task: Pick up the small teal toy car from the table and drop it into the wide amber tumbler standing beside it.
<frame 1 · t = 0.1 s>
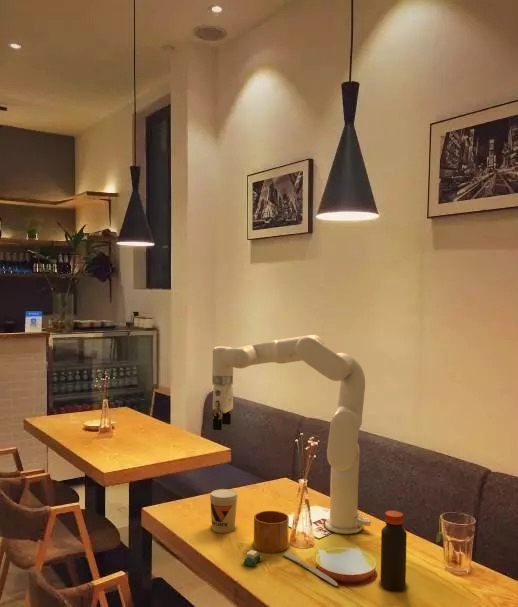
hand: (221, 427, 218), 31 cm above the table, tool pointing down, fingers open, 9 cm apart
butter knife: (310, 569, 174), on the table
tumbler: (270, 545, 190), on the table
bottle: (392, 586, 165), on the table
coffee cup: (223, 528, 203), on the table
toy car: (252, 563, 177), on the table
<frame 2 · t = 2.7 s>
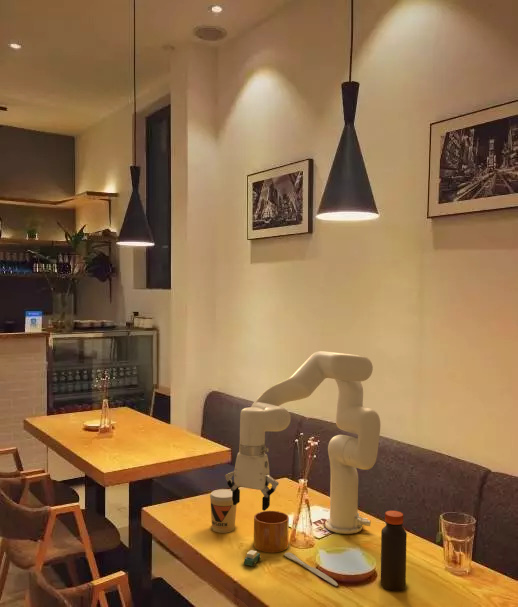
hand: (250, 506, 179), 16 cm above the table, tool pointing down, fingers open, 9 cm apart
nothing on the table moved.
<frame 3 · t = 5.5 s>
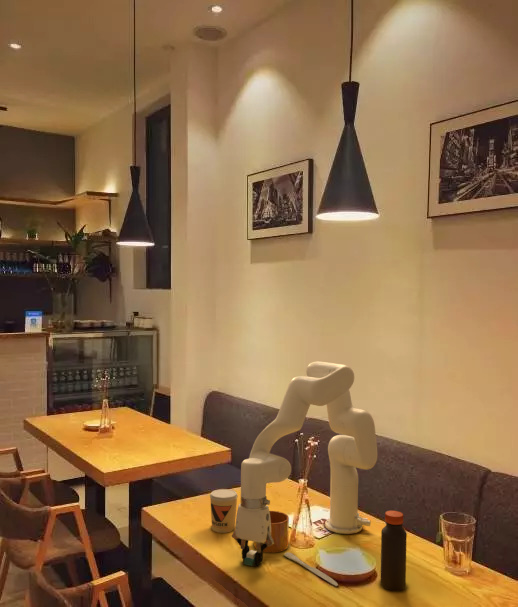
hand: (252, 562, 177), 0 cm above the table, tool pointing down, fingers closed on toy car, 3 cm apart
toy car: (252, 563, 177), on the table, touching gripper
everything else where it was.
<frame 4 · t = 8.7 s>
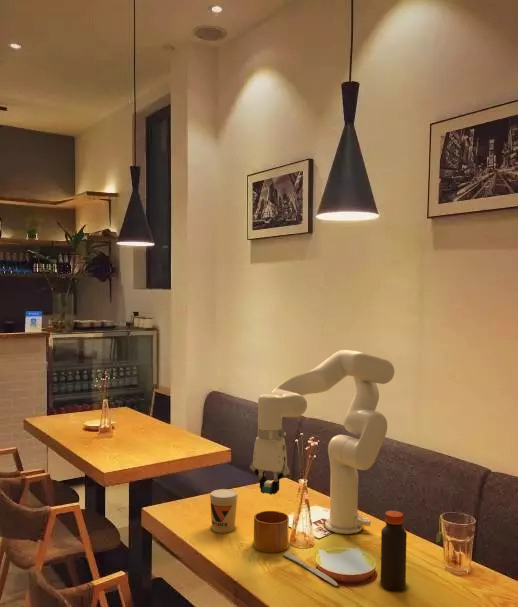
hand: (269, 491, 188), 18 cm above the table, tool pointing down, fingers closed on toy car, 3 cm apart
toy car: (269, 492, 188), point 18 cm above the table, touching gripper
everything else where it was.
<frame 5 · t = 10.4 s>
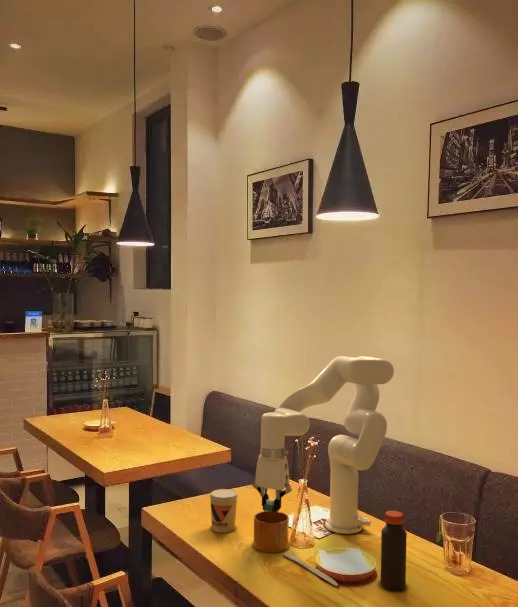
hand: (271, 509, 190), 12 cm above the table, tool pointing down, fingers closed on toy car, 3 cm apart
toy car: (271, 509, 190), point 11 cm above the table, touching gripper
everything else where it was.
when the fingers open (8 cm above the table, at t = 11.8 s): toy car drops 7 cm, resting on tumbler.
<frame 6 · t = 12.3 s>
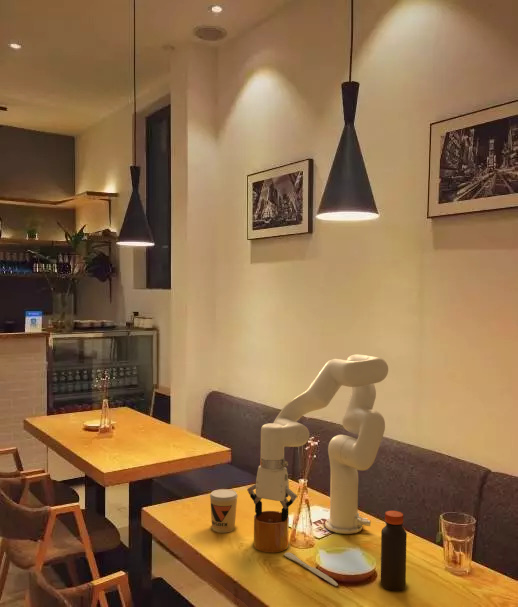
hand: (271, 517, 190), 9 cm above the table, tool pointing down, fingers open, 8 cm apart
toy car: (271, 543, 190), point 1 cm above the table, touching tumbler
everything else where it was.
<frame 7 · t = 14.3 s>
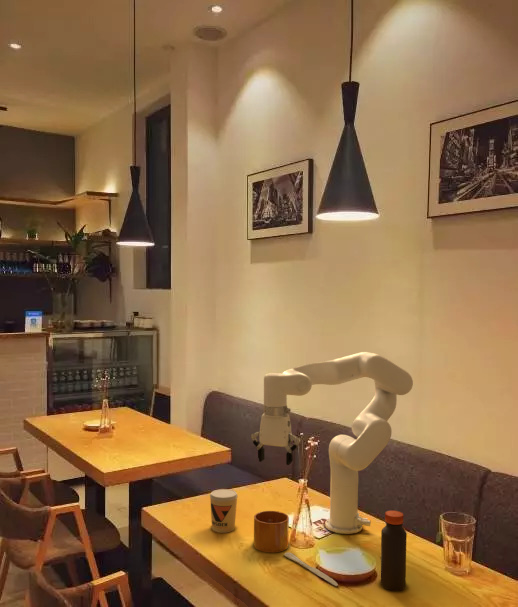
hand: (275, 462, 197), 24 cm above the table, tool pointing down, fingers open, 9 cm apart
nothing on the table moved.
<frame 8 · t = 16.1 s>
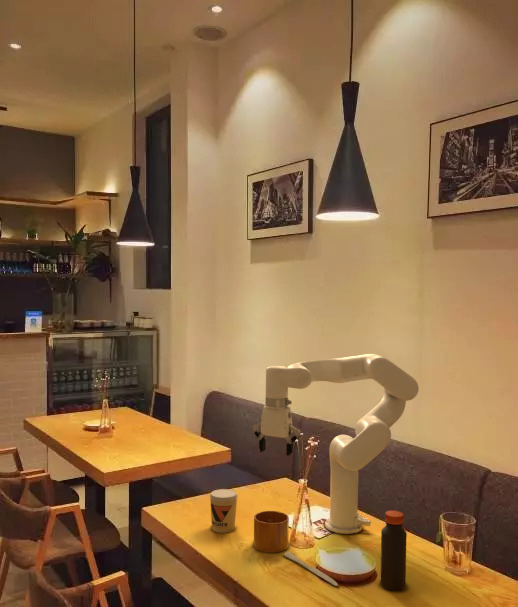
hand: (275, 452, 202), 26 cm above the table, tool pointing down, fingers open, 9 cm apart
nothing on the table moved.
at the end: toy car inside the target area in the tumbler (0.0 cm from its centre), point 0.6 cm above the tumbler's base; the gripper is holding nothing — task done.
